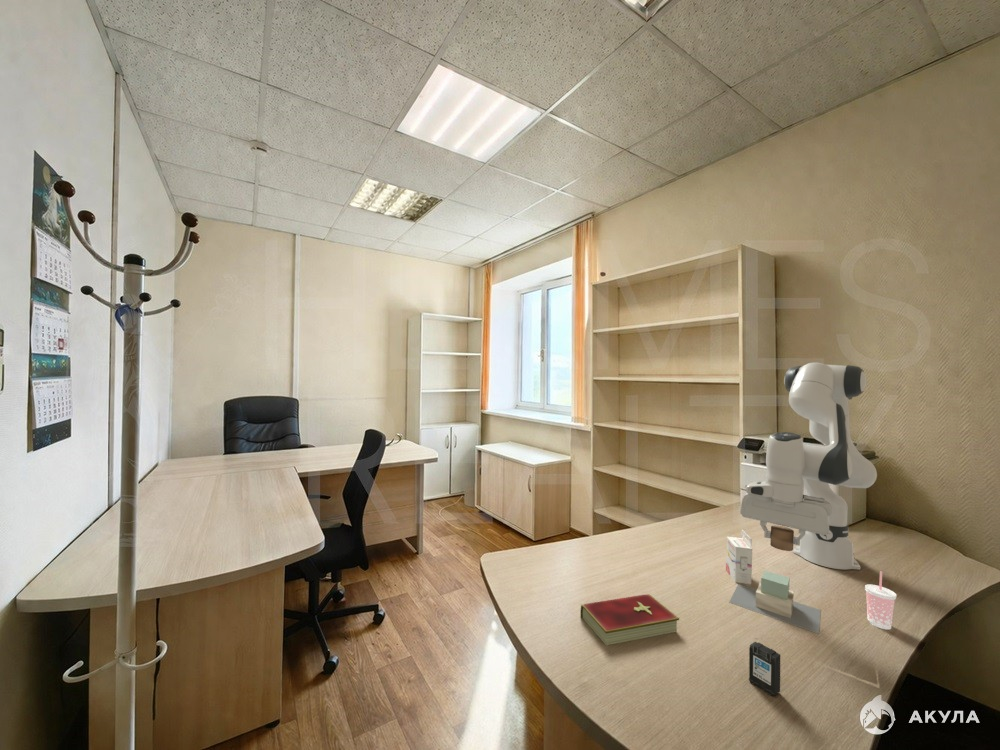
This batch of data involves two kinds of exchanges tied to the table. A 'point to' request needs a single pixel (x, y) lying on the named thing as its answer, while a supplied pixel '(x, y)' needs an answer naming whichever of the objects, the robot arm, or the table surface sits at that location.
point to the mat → (800, 614)
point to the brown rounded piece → (782, 538)
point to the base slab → (775, 603)
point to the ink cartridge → (764, 668)
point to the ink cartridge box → (739, 558)
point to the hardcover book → (628, 618)
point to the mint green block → (775, 585)
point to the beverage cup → (880, 605)
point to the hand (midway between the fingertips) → (781, 540)
